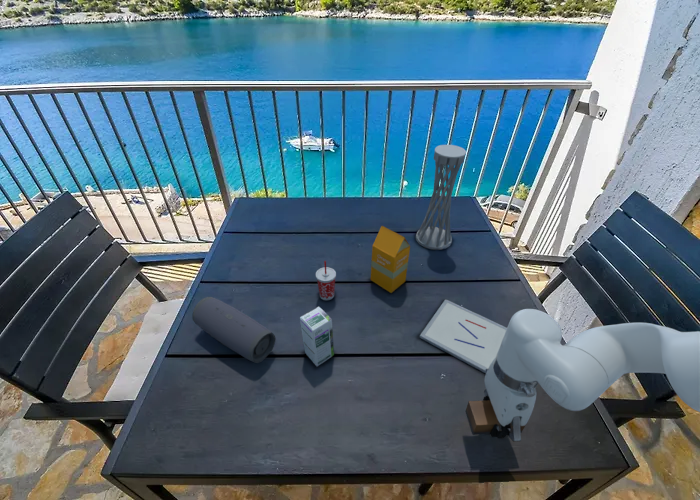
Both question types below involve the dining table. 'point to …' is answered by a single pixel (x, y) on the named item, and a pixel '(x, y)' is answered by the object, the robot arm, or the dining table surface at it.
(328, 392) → the dining table surface
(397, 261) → the orange juice
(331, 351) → the syrup box
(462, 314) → the board
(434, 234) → the grey lattice tower
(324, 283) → the beverage cup
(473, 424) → the eraser
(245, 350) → the bluetooth speaker
